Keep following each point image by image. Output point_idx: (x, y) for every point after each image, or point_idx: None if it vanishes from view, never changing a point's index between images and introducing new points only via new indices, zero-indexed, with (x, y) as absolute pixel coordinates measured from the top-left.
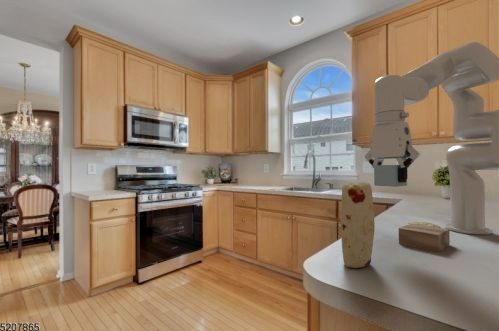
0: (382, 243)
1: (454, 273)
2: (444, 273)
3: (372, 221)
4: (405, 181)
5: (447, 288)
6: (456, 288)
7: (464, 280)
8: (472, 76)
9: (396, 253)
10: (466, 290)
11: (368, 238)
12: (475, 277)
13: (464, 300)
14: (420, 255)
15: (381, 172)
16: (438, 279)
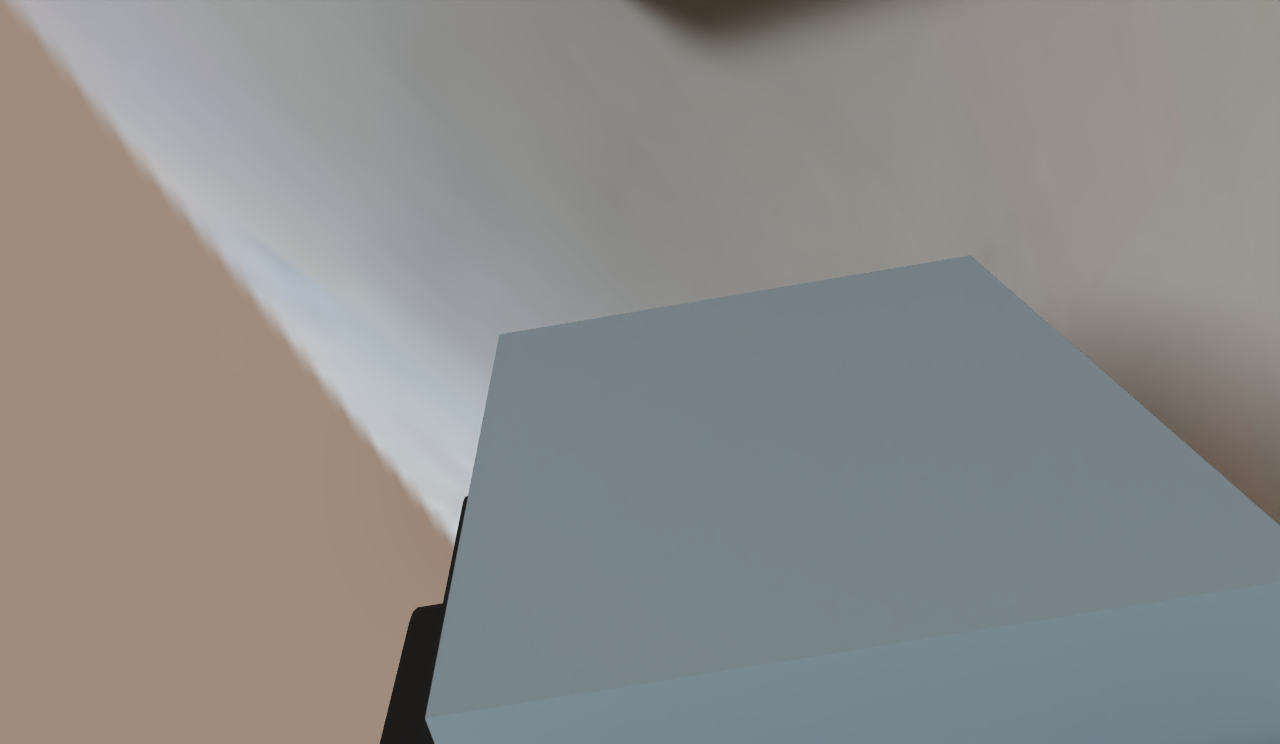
0: (523, 124)
1: (1159, 232)
2: (1122, 286)
3: None
4: None
5: (1191, 444)
6: (1218, 409)
7: (1222, 281)
8: None
9: (765, 244)
10: (1255, 389)
11: None
12: (1255, 178)
13: (1268, 483)
14: (882, 109)
15: None
16: (1130, 391)
